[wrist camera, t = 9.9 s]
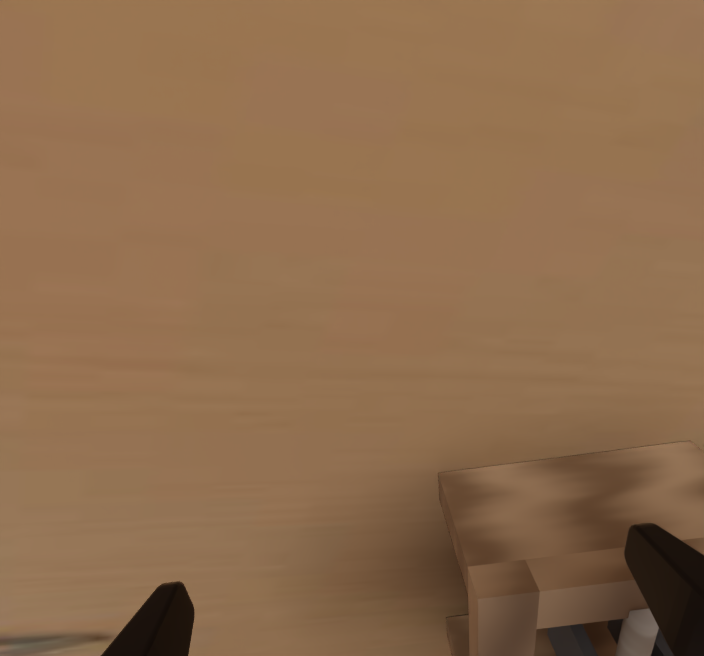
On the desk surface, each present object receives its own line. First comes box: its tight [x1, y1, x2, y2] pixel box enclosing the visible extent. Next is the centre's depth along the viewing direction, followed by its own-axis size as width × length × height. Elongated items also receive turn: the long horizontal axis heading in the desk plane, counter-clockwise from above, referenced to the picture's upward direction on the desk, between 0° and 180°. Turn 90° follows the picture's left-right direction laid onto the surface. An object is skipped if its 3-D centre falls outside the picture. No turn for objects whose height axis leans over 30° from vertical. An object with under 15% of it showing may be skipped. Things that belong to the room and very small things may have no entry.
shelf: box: [438, 441, 704, 656], centre depth 23 cm, size 14×15×8 cm
